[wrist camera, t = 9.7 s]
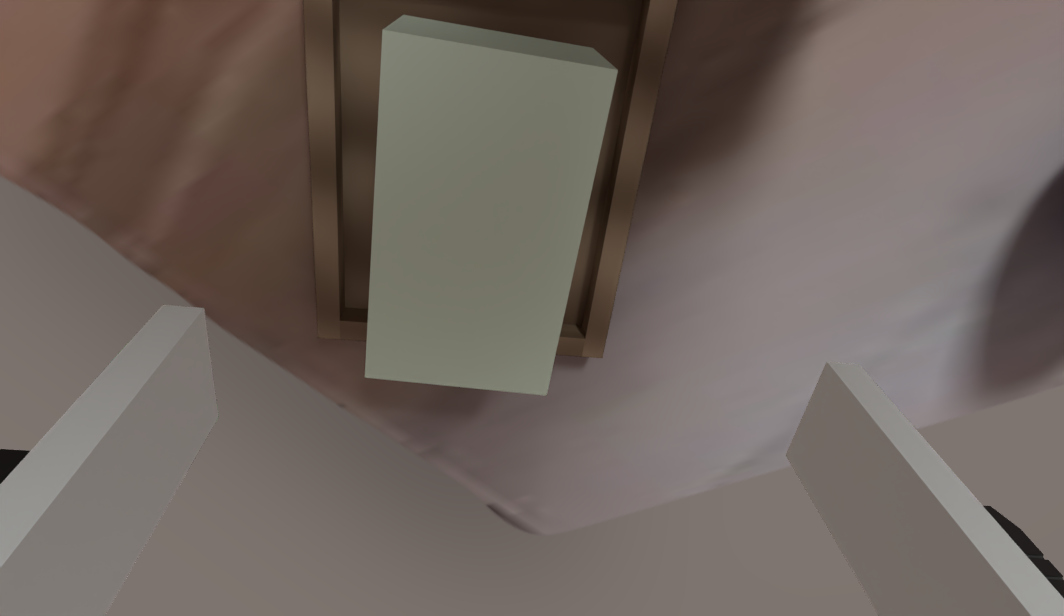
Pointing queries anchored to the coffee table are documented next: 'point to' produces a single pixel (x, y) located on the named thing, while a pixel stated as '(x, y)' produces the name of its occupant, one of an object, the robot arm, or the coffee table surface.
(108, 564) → the robot arm
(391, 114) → the grey boxy block
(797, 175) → the coffee table surface
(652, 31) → the peg frame
